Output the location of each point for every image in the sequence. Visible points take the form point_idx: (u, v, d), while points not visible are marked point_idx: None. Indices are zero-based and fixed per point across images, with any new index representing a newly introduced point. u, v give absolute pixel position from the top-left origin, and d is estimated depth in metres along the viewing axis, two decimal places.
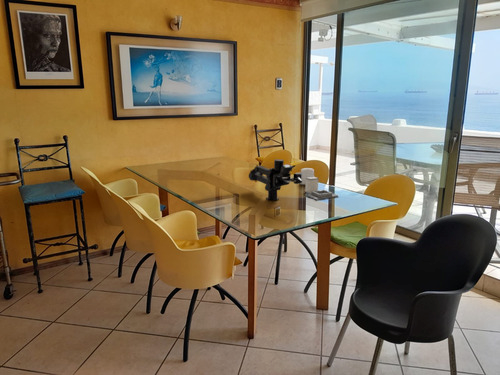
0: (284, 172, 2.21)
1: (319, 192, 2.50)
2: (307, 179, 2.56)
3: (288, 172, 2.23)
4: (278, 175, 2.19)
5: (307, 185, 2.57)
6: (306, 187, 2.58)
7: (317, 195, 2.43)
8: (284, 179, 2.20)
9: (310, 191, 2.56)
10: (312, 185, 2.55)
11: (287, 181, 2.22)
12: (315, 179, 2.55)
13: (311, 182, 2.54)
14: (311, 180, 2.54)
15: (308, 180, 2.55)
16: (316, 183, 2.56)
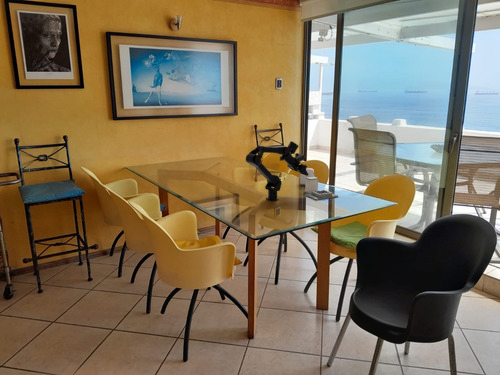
0: None
1: (319, 192, 2.50)
2: (307, 179, 2.56)
3: None
4: (303, 164, 2.41)
5: (307, 185, 2.57)
6: (306, 187, 2.58)
7: (317, 195, 2.43)
8: None
9: (310, 191, 2.56)
10: (312, 185, 2.55)
11: None
12: (315, 179, 2.55)
13: (311, 182, 2.54)
14: (311, 180, 2.54)
15: (308, 180, 2.55)
16: (316, 183, 2.56)
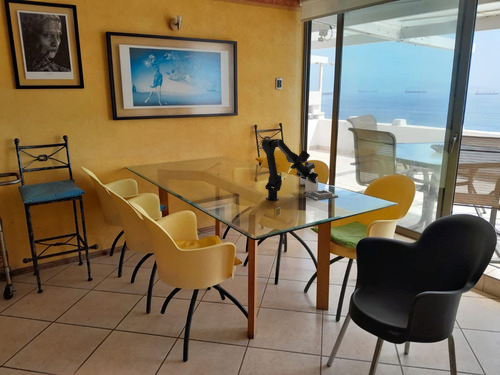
0: None
1: (319, 192, 2.50)
2: (307, 179, 2.56)
3: None
4: (314, 172, 2.49)
5: (307, 185, 2.57)
6: (306, 187, 2.58)
7: (317, 195, 2.43)
8: None
9: (310, 191, 2.56)
10: (312, 185, 2.55)
11: (307, 176, 2.53)
12: (315, 179, 2.55)
13: (311, 182, 2.54)
14: None
15: None
16: (316, 183, 2.56)
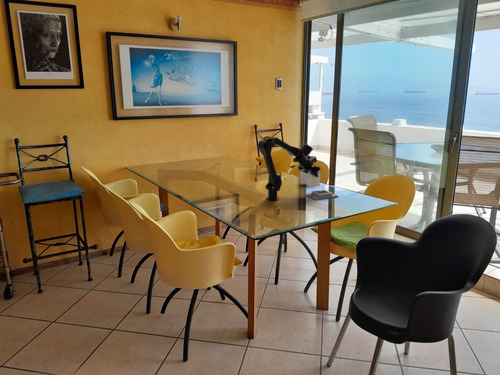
0: None
1: (319, 192, 2.50)
2: (309, 173, 2.53)
3: None
4: (316, 166, 2.46)
5: (309, 179, 2.53)
6: (308, 181, 2.55)
7: (317, 195, 2.43)
8: None
9: (312, 185, 2.52)
10: (314, 179, 2.52)
11: None
12: None
13: None
14: None
15: (310, 174, 2.52)
16: (318, 177, 2.53)
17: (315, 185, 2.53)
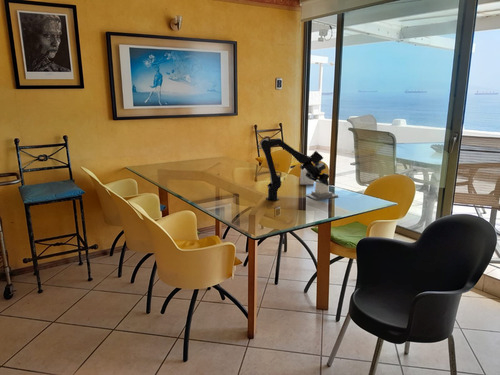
0: None
1: None
2: (317, 182, 2.44)
3: None
4: None
5: (317, 188, 2.45)
6: (316, 190, 2.46)
7: (317, 195, 2.43)
8: None
9: None
10: (322, 188, 2.43)
11: None
12: None
13: (322, 184, 2.42)
14: (321, 183, 2.42)
15: (318, 183, 2.43)
16: (327, 186, 2.44)
17: None
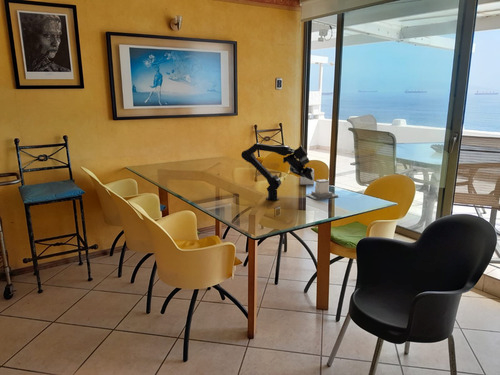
0: None
1: None
2: (317, 182, 2.44)
3: None
4: (308, 167, 2.30)
5: (317, 188, 2.45)
6: (316, 190, 2.46)
7: (317, 195, 2.43)
8: None
9: None
10: (322, 188, 2.43)
11: None
12: (326, 182, 2.43)
13: (322, 184, 2.42)
14: (321, 183, 2.42)
15: (318, 183, 2.43)
16: (327, 186, 2.44)
17: None
